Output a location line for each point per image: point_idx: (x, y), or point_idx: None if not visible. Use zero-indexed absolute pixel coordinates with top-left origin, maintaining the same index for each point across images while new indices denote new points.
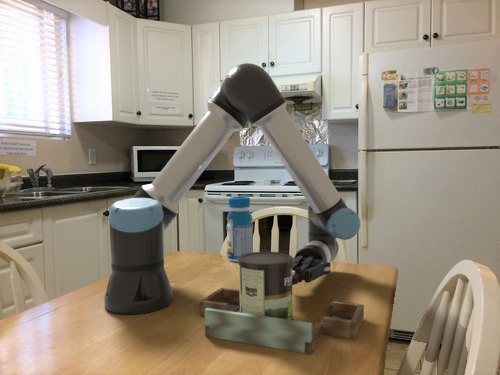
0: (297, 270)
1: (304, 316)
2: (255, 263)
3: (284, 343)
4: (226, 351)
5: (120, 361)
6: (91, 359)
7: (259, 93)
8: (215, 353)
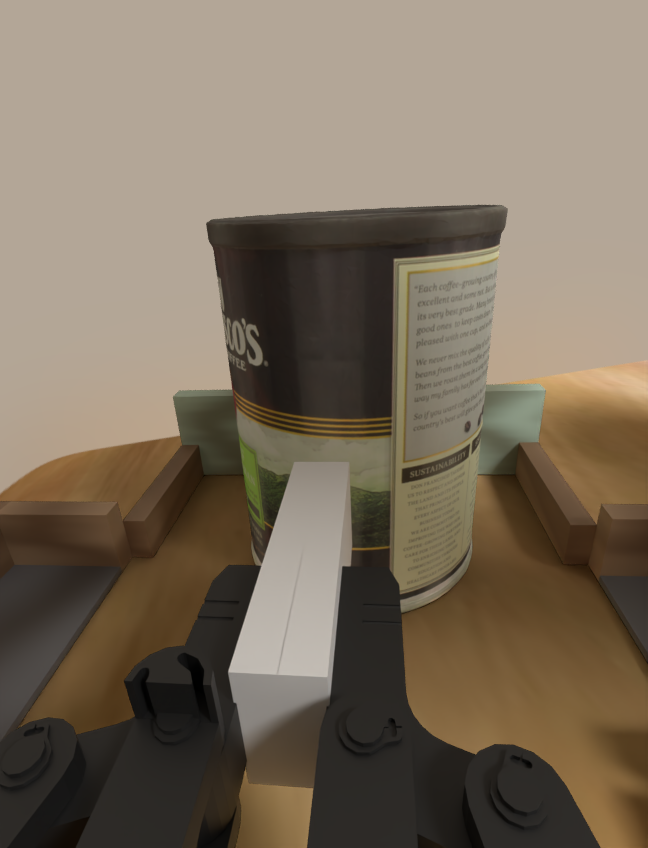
0: (193, 669)
1: None
2: (358, 211)
3: None
4: None
5: (584, 384)
6: (641, 378)
7: None
8: None
